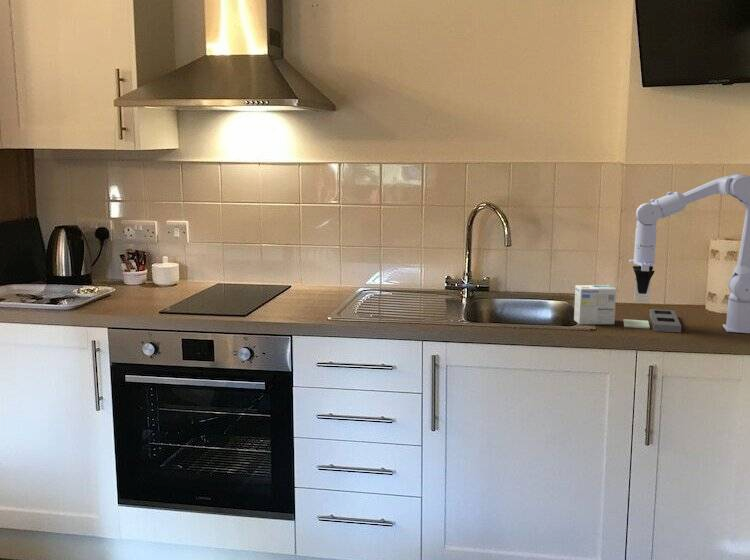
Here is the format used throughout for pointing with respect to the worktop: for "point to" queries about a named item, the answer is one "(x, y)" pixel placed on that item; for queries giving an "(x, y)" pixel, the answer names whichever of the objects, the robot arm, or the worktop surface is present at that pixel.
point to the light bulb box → (595, 304)
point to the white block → (641, 297)
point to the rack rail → (665, 321)
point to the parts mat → (636, 323)
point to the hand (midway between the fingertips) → (641, 292)
